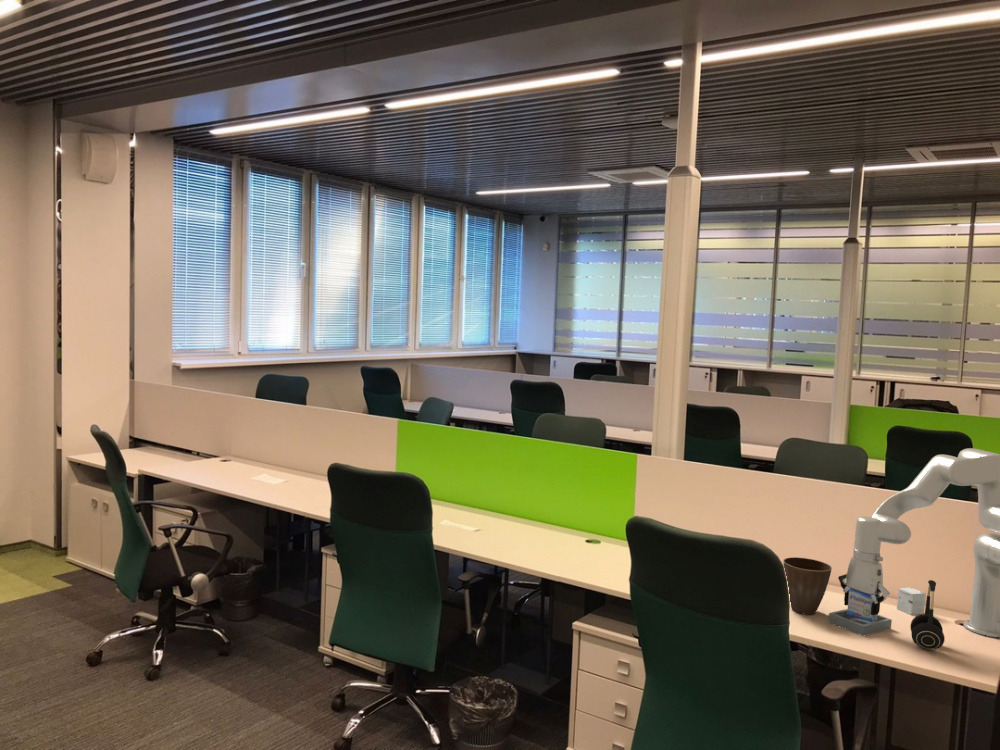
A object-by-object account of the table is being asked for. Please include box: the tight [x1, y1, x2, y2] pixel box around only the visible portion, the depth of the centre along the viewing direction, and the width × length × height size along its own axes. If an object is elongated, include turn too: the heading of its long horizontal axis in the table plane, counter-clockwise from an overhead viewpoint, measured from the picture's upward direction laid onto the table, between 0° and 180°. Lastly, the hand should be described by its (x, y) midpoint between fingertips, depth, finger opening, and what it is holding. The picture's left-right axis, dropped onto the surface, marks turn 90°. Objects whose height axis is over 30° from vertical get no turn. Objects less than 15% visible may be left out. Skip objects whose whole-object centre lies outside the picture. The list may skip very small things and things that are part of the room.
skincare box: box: [896, 587, 927, 616], centre depth 261 cm, size 6×6×7 cm
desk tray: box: [827, 608, 893, 637], centre depth 243 cm, size 12×15×3 cm
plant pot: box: [782, 556, 833, 616], centre depth 253 cm, size 15×15×16 cm
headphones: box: [910, 579, 946, 651], centre depth 229 cm, size 9×15×20 cm, turn 154°
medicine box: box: [846, 588, 877, 622], centre depth 244 cm, size 8×4×9 cm, turn 43°
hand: (861, 609), depth 243 cm, fingers closed on medicine box, 8 cm apart
